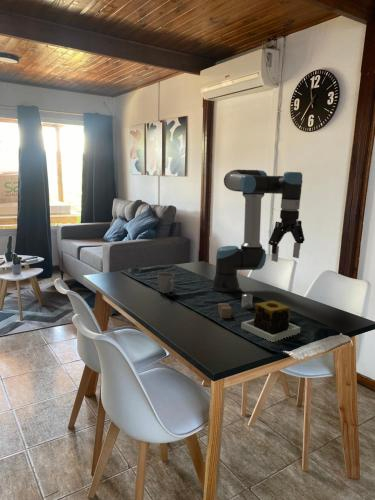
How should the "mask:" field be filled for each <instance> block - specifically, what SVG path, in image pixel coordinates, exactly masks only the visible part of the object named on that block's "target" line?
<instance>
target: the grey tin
mask: <svg viewBox="0 0 375 500" xmlns="http://www.w3.org/2000/svg"><path fill="white" fill-rule="evenodd" d="M253 297H254V296H253V294H252V293H242V294H241V302H240V303H241V308H242V309H244V310H250V309H252V308H253V299H254V298H253Z"/></svg>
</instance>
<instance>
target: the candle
mask: <svg viewBox="0 0 375 500" xmlns="http://www.w3.org/2000/svg"><path fill="white" fill-rule="evenodd" d="M254 305H255V311H254V318H253V319H254V327H256V328H258V329H261V330H263V331H265V332H267V333H269V334H272V335H273V334H277V333H280V332H283V331H286V330H288V327H289V323H290V314H289V313H290V312H289V311H291V310H290V309H291V307H290V306H288V305H285V304H282V303H280V302H279V301H275V300H269V301H263V302H258V303H257V302H256V303H255V304H254Z"/></svg>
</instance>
